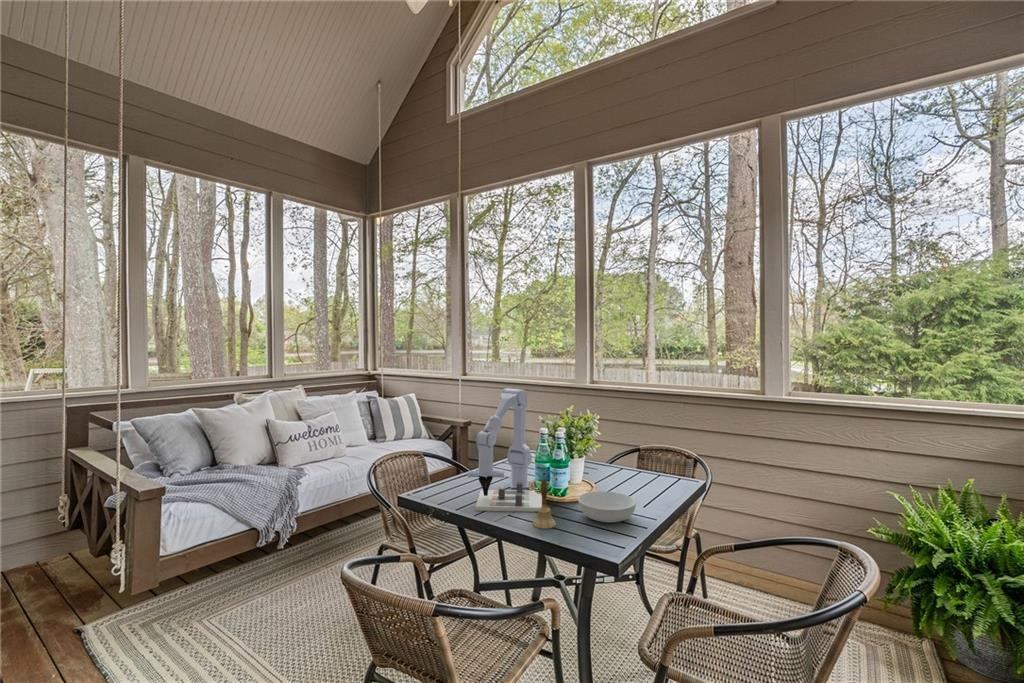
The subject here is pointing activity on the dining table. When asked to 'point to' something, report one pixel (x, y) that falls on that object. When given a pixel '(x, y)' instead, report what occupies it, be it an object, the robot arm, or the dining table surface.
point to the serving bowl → (606, 506)
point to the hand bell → (544, 511)
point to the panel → (509, 500)
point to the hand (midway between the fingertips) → (485, 494)
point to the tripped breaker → (501, 492)
